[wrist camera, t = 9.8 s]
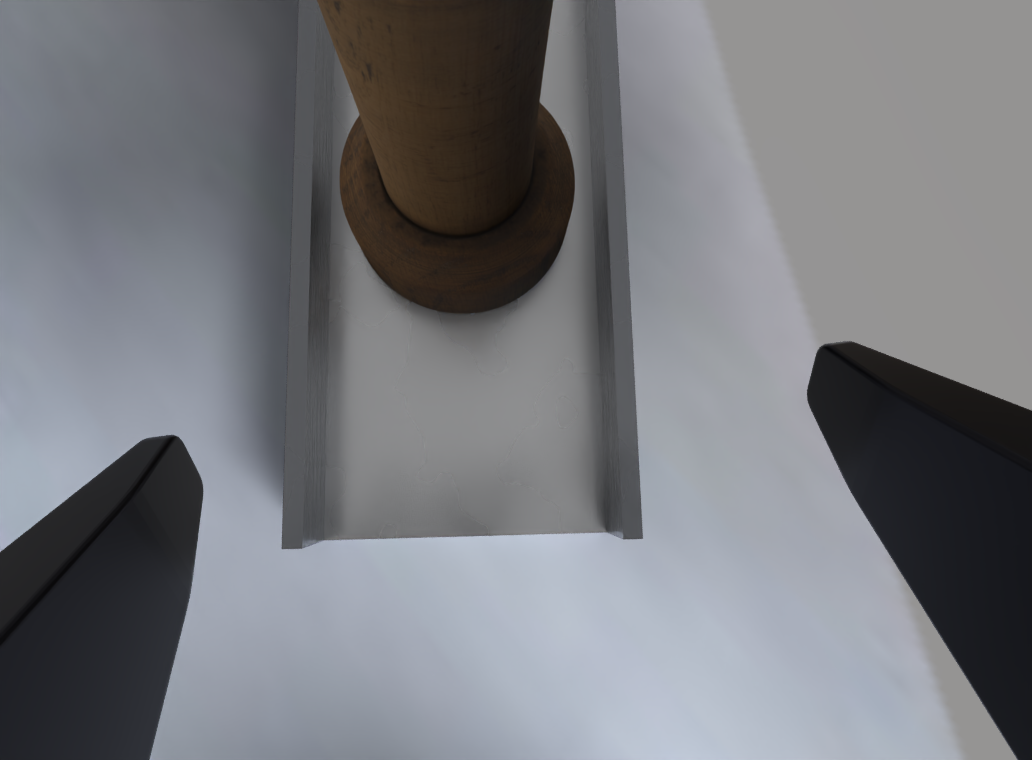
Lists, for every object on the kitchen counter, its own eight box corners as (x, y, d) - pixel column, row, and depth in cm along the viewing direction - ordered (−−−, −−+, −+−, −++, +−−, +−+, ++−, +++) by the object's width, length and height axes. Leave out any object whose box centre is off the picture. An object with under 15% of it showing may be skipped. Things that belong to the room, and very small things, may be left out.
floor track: (618, 529, 19) (642, 538, 16) (313, 537, 19) (281, 549, 16) (591, -62, 22) (607, -144, 19) (327, -67, 22) (303, -153, 19)
